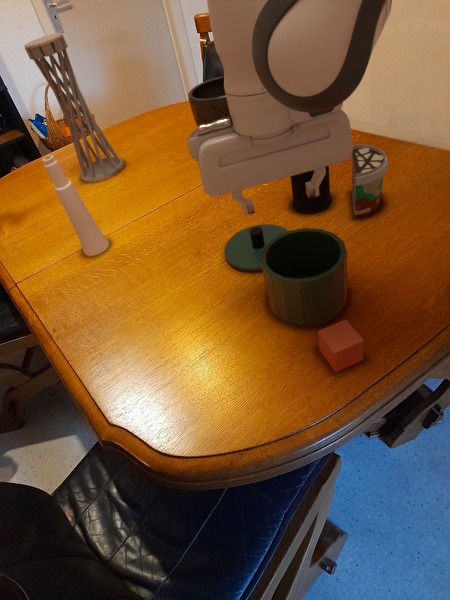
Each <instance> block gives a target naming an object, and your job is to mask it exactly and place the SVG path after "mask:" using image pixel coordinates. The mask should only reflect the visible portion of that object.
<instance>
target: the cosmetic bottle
mask: <svg viewBox="0 0 450 600" xmlns="http://www.w3.org/2000/svg"><path fill="white" fill-rule="evenodd" d="M42 163H44V164H43V167H44V169H45V171H46V173H47V174H48V176H49V178H50V179H51V181H52V183H53V185H54V191H55V193H56V195H57V197H58V199H59V201H60V204H61V205H62V208H63V209H64V212H65V213H66V216H67V217H68V219H69V221H70V223H71V225H72V227H73V229H74V231H75V234H76V236H77V239H78V240H79V243H80V245H81V249H82V252H83V253H84V255H85V256H87V257H95V256H98V255H100V254H102V253H104V252H105V251H106V250H108V248H109V247H110V241H109V240H108V238H107V237H106V236H105V234H104V233H103V232H102V230H101V228H100V227H99V226H98V224H97V223H96V221H95V220H94V218H93V216H92V214H91V213H90V211H89V209H88V208H87V206H86V204H85V203H84V201H83V199H82V197H81V195H80V194H79V192H78V190H77V189H76V187H75V186H74V184H73V182H72V181H71V180H69V179H68V178H67V176H66V174H65V172H64V170H63V168H62V166H61V165H60V163H59V161H58V159H55V156H54V155H52V154H50V155H46V156H44V157H42Z"/></svg>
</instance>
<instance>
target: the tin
mask: <svg viewBox="0 0 450 600" xmlns="http://www.w3.org/2000/svg"><path fill="white" fill-rule="evenodd" d="M261 265H262V270H261V271H262V274H263V280H264V285H265V290H266V295H267V299H268V305H269V307H270V309H271V311H272V313H273V315H275V316H276V317H277V318H278V319H279V320H281V321H282V322H285V323H286V324H289V325H293V326H298V327H314V326H318V325H322V324H325V323H328V322H329V321H331V320H333V319H334V318H336V317H337V316H339V314H340V313H342V311H344V308H345V306H346V304H347V299H348V251H347V248H346V245H345V242H344V240H343V239H341V238H340V237H339V236H338V235H336V233H334V232H331V231H328V230H325V229H322V228H315V227H302V228H297V229H291V230H288V232H285V233H283V234H281V235H278V236H276V237H275V238H274V239H272V240H271V241H270V242H269V243H268V244H267V245H266V246H265V248H264V250H263V252H262V254H261Z"/></svg>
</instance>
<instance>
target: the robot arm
mask: <svg viewBox="0 0 450 600" xmlns="http://www.w3.org/2000/svg"><path fill="white" fill-rule="evenodd" d="M392 3H393V0H206V5H207V11H208V16H209V23H210V29H211V33H212V39H213V42H214V47H215V51H216V53H217V56H218V57H219V60H220V62H221V64H222V68H223V76H224V89H225V94H226V98H227V103H228V107H229V112H230V116H229V117H225V118H222V119H219V120H216V121H214V122H212V123H208V124H202V125H199V126H197V125H196V126H195V129H194V130H193V131H191V133H190V134H189V135H188V138H187V146H188V149H189V153H190V157H192V159H193V160H194V161H195V162H197V163H198V167H199V175H200V179H201V184H202V189H203V193H204V194H206V195H207V196H208V197H210V198H218V197H220V196H224V195H227V194H231V197H232V200H234V201H235V202H236V203H237V204H239V205H240V207H242V210H243V214H244V216H249V215H250V216H251V215H253V214H255V208H254V204H253V201H252V197H248V198H245V197H244V196H243V192H242V191H243V190H246V189H250V188H254V187H256V186H260V185H264V184H267V183H271V182H276V181H279V180H283V179H286V178H291V177H290V176H294V175H297V174H301V173H305V172H308V171H312V170H313V171H314V174H313V176H312V179H311V181H310V182H306V183H305V186H306V193H307V196H308V198H312V197H316V196H319V185H320V184H321V182H322V180H323V178H324V176H325V174H326V166H329V167H330V166H333V165H337V164H340V163H345V162H347V161H348V160H349V159H350V157H351V156H352V148H353V147H352V145H353V135H352V134H353V133H352V128H351V122H350V118H349V116H348V115H347V113H346V112H345V111H344V110H343V109H342V108H343V106H344V102H345V101H347V100H348V98H349V97H351V96H352V95H353V93H354V92H355V91H356V90H357V89H358V87H359V85H360V84H361V82H362V80H363V78H364V76H365V73H366V71H367V68H368V65H369V63H370V60H371V56H372V53H373V51H374V49H375V47H376V45H377V43H378V42H379V38H380V37H381V36H382V33H383V31H384V28H385V26H386V24H387V22H388V19H389V16H390V13H391V10H392Z"/></svg>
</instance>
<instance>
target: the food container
mask: <svg viewBox="0 0 450 600" xmlns="http://www.w3.org/2000/svg"><path fill="white" fill-rule="evenodd" d="M352 147H353V148H352V153H351V189H352V190H351V193H352V203H353V210H354V211H353V212H354V218H356V219H357V218H358V219H359V218H363V217H366V216H369V215H371V214H373V213H374V212H376V211H377V210H378V209H379V207H380V203H381V196H382V189H383V184H384V176H385V175H386V173H387V172H388V170H389V162H388V157H387V155H386V152H384V150H382V149H381V148H379V147H377V146H374V145H369V144H352Z"/></svg>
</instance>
